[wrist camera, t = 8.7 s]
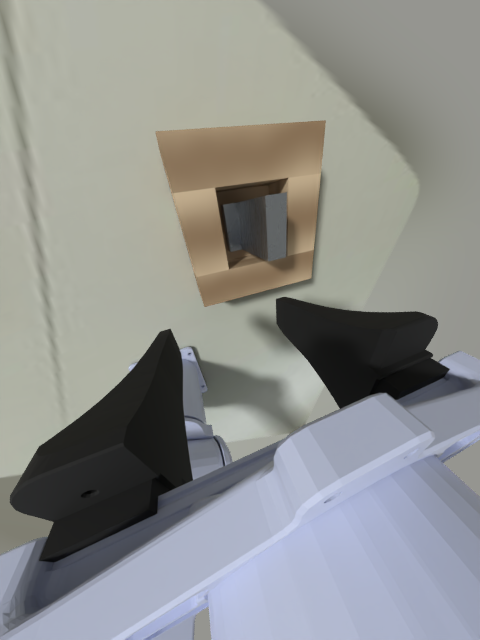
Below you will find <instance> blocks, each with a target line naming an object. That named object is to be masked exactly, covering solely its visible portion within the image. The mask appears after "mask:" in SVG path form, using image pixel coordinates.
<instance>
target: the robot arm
mask: <svg viewBox="0 0 480 640" xmlns="http://www.w3.org/2000/svg"><path fill="white" fill-rule="evenodd" d="M276 318H277V325H278V326H279V328H280V329H281V331H282V332H283V334H284V335H285V336H286V337H287V338H288V339H289V340H290V341H291V342H292V344H293V345H294V346H295V347H296V348H297V349H298V350H299V351H300V352H301V353H302V354H303V355H304V357H305V358H306V359H307V360H308V362H309V363H310V364H311V366H312V367H313V368H314V370H315V371H316V372H317V374H318V375H319V377H320V378H321V380H322V381H323V382H324V384H325V385H326V387H327V388H328V390H329V392H330V393H331V395H332V396H333V398H334V400H335V401H336V403H337V405H338V406H339V408H340V409H339V410H337V411H334V412H332V413H330V414H328V415H325V416H323V417H321V418H319V419H317V420H314V421H312V422H310V423H308V424H305V425H304V426H302V427H300V428H298V429H297V430H295V431H293V432H292V433H290V434H289V435H288V436H287V437H286V438H285V439H282V440H281V441H278V442H276V443H274V444H272V445H269V446H267V447H265V448H263V449H260V450H258V451H256V452H254V453H252V454H250V455H247V456H245V457H243V458H241V459H239V460H237V461H235V462H232V457H231V454H230V451H229V449H228V447H227V445H226V443H225V442H224V440H223V439H222V438H221V437H220V436H217V435H215V436H213V430H212V425H207V424H206V417H205V411H204V405H203V398H202V393H204V392H206V391H207V386H206V383H205V381H204V378H203V375H202V373H201V370H200V367H199V365H198V362H197V360H196V357H195V354H194V352H193V349H192V348H191V347H186V348H183V349H179V347H178V345H177V343H176V340H175V338H174V336H173V333H172V331H171V329H168V330H164V331H161V332H160V333H159V334H158V336H157V337H156V338H155V340H154V341H153V343H152V344H151V346H150V347H149V349H148V350H147V351H146V353H145V354H144V355H143V357H142V358H141V359H140V360H139V362H138V363H134V364H131V365H130V366H129V370H130V372H129V374H128V375H127V376H126V377H125V378H124V379H123V380H122V381H121V382H120V383H119V384H118V385H117V386H116V387H115V388H114V389H112V390H111V391H110V392H109V393H108V394H107V395H106V396H105V397H104V398H103V399H102V400H100V401H99V402H98V403H97V404H96V405H94V406H93V407H92V408H91V409H90V410H88V411H87V412H86V413H85V414H83V415H82V416H81V417H80V418H78V419H77V420H76V421H74V422H73V423H72V424H70V425H69V426H67V427H66V428H65V429H63V430H62V431H61V432H59V433H58V434H56V435H55V436H54V437H52V438H51V439H49V440H48V441H47V442H45V443H44V444H42V445H41V446H39V448H38V449H37V451H36V453H35V454H34V456H33V458H32V460H31V461H30V463H29V465H28V466H27V468H26V470H25V471H24V473H23V475H22V477H21V478H20V480H19V482H18V483H17V485H16V487H15V488H14V490H13V492H12V494H11V495H10V503H11V505H12V506H13V508H14V509H15V510H17V511H19V512H21V513H24V514H27V515H31V516H35V517H38V518H42V519H46V520H49V521H53V522H54V524H53V526H52V529H51V531H50V534H49V536H48V537H42V538H37V539H34V540H31V541H29V542H27V543H25V544H22V545H20V546H18V547H15V548H13V549H11V550H9V551H6V552H5V553H2V554H0V640H194V625H195V624H194V623H195V617H196V614H197V613H198V612H200V611H202V610H204V609H205V608H207V607H209V614H210V615H209V616H210V627H211V639H212V640H480V497H479V496H478V495H477V494H476V493H475V492H474V491H473V490H472V489H471V488H470V487H468V486H467V485H466V484H465V483H464V482H463V481H462V480H461V479H460V478H459V477H458V476H457V475H455V474H454V473H453V472H452V471H451V470H450V469H449V468H448V467H447V466H446V465H444V464H443V463H444V462H445V461H447V460H448V459H450V458H452V457H453V456H455V455H456V454H458V453H460V452H461V451H463V450H464V449H466V448H467V447H469V446H470V445H472V444H474V443H476V442H477V441H479V440H480V360H479V359H477V358H475V357H473V356H471V355H469V354H467V353H464V352H462V351H457V352H455V353H453V354H450V355H448V356H446V357H444V358H442V359H441V360H439V361H438V362H437V361H435V360H433V359H431V357H432V356H433V354H432V353H430V352H429V351H427V350H425V349H426V347H427V346H428V344H429V343H430V341H431V339H432V338H433V336H434V334H435V332H436V330H437V327H438V322H437V320H436V318H434V317H432V316H429V315H426V314H424V313H421V312H388V313H387V312H361V311H349V310H342V309H335V308H329V307H324V306H320V305H315V304H311V303H307V302H304V301H300V300H296V299H292V298H288V297H282V298H278V299H276ZM188 353H191V354H188ZM202 385H203V386H202Z"/></svg>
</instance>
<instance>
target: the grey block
mask: <svg viewBox="0 0 480 640" xmlns="http://www.w3.org/2000/svg"><path fill="white" fill-rule="evenodd" d="M221 211H222V217H223V223H224V229H225V235H226V241H227V247H228V251H230V252H233V251H237V250H244V251H247V252H249V253H251V254H253V255H255V256H257V257H260V258H262V259H264V260H266V261H273V260H277V259H281V258H285V257H286V230H287V192H286V193H279V194H273V195H266V196H262V197H258V198H254V199H249V200H245V201H241V202H237V203H231V204H225V205H221Z"/></svg>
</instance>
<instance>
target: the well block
mask: <svg viewBox="0 0 480 640" xmlns="http://www.w3.org/2000/svg"><path fill="white" fill-rule="evenodd" d="M325 123H326V121H310V122H295V123H279V124H264V125H248V126H233V127H217V128H202V129H187V130H171V131H156V136H157V141H158V145H159V150H160V154H161V158H162V161H163V165H164V168H165V172H166V175H167V179H168V182H169V186H170V189H171V193H172V196H173V200H174V204H175V207H176V211H177V214H178V218H179V221H180V225H181V228H182V232H183V235H184V239H185V242H186V246H187V249H188V253H189V256H190V260H191V263H192V267H193V271H194V274H195V278H196V281H197V285H198V288H199V292H200V295H201V298H202V301H203V303H204V306H205V307H207V306H210V305H214V304H218V303H221V302H225V301H229V300H233V299H236V298H240V297H244V296H248V295H251V294H255V293H259V292H262V291H266V290H270V289H274V288H277V287H281V286H285V285H288V284H292V283H296V282H300V281H303V280H307V279H311V275H312V264H313V253H314V242H315V231H316V221H317V210H318V199H319V188H320V177H321V166H322V155H323V144H324V133H325ZM286 192H287V230H286V257H285V258H281V259H277V260H273V261H266V260H264V259H262V258H260V257H257V256H255V255H253V254H251V253H249V252H247V251H244V250H237V251H233V252H230V251H228V247H227V241H226V235H225V229H224V223H223V217H222V211H221V205H225V204H231V203H237V202H241V201H245V200H249V199H254V198H258V197H262V196H266V195H273V194H279V193H286Z"/></svg>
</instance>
